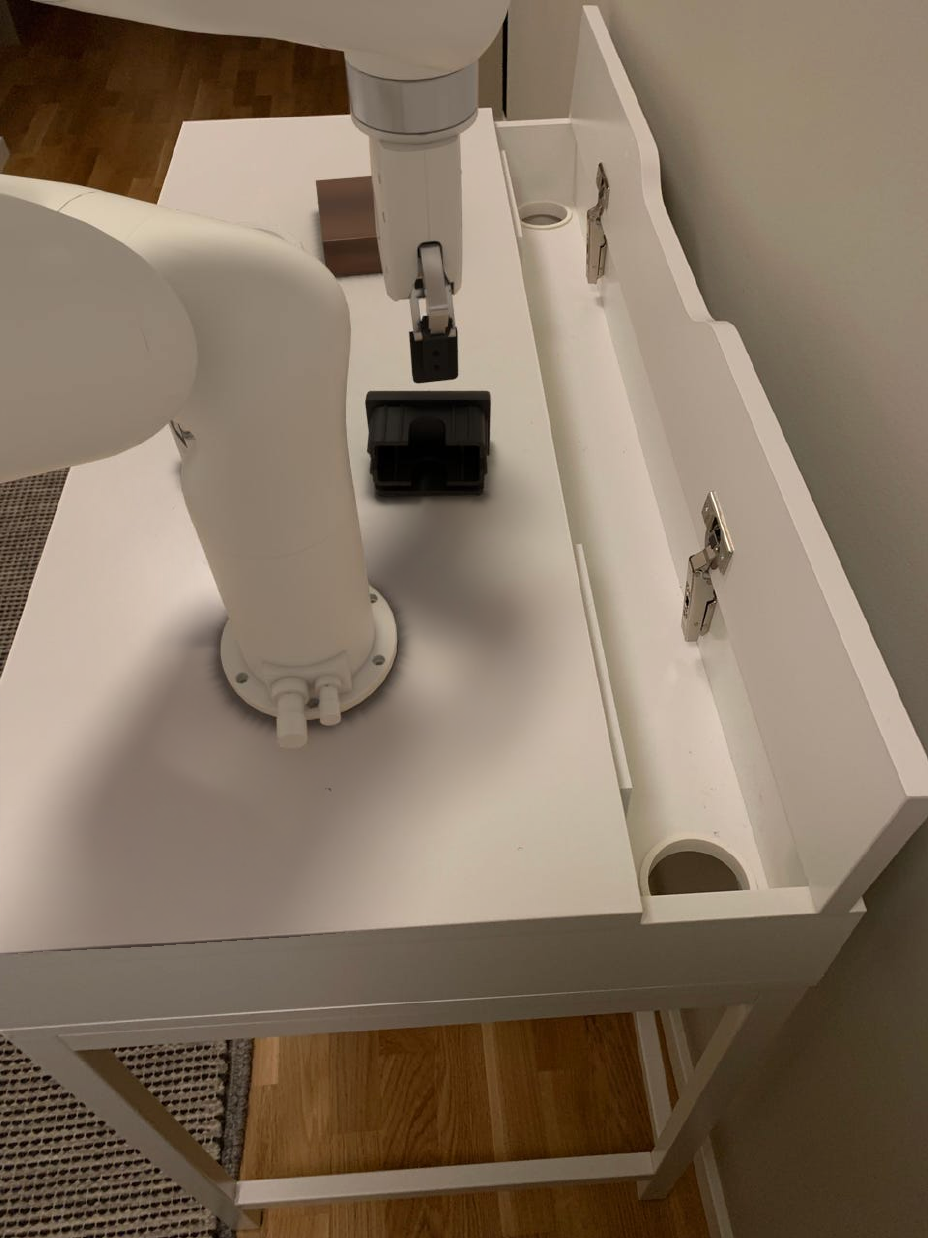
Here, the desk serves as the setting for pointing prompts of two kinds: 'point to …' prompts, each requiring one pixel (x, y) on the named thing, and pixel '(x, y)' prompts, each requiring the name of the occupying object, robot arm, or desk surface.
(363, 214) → the riser
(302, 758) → the desk surface
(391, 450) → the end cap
